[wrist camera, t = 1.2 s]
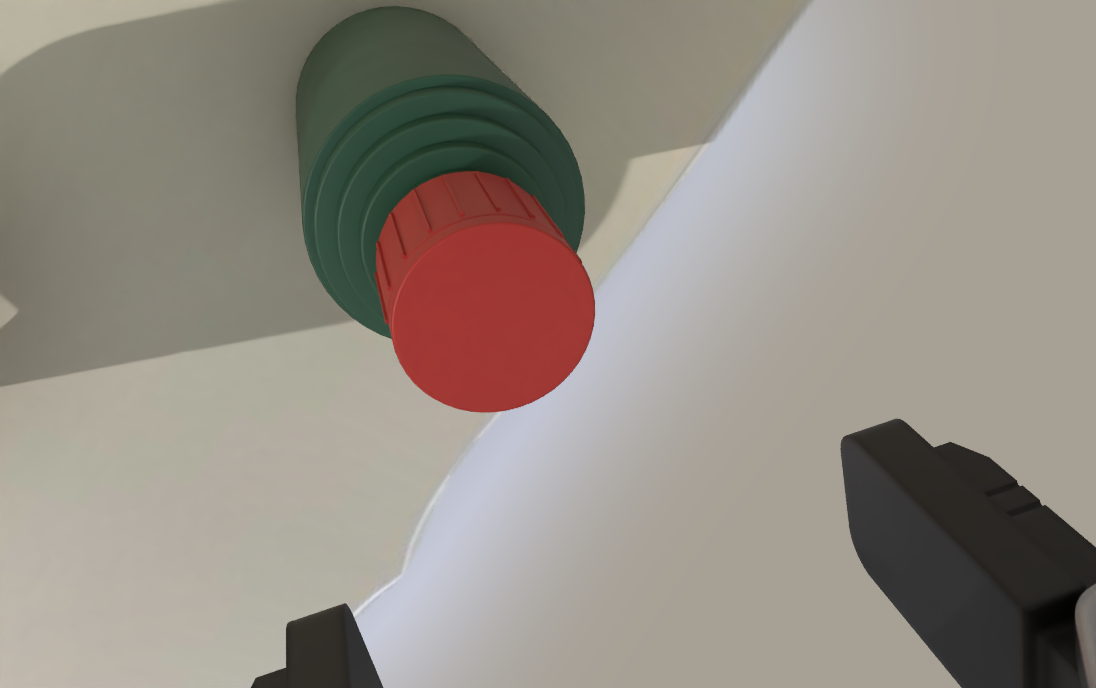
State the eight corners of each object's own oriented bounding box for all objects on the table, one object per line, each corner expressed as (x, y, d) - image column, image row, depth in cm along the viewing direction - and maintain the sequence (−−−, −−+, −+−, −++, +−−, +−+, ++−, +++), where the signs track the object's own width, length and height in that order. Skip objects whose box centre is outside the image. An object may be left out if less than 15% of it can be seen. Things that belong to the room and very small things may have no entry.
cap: (396, 149, 22) (416, 199, 19) (577, 191, 24) (625, 245, 20) (355, 323, 24) (366, 398, 20) (527, 354, 25) (564, 428, 22)
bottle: (318, -19, 35) (351, 91, 18) (517, 37, 38) (706, 180, 21) (278, 181, 38) (275, 438, 21) (466, 222, 40) (599, 483, 23)
